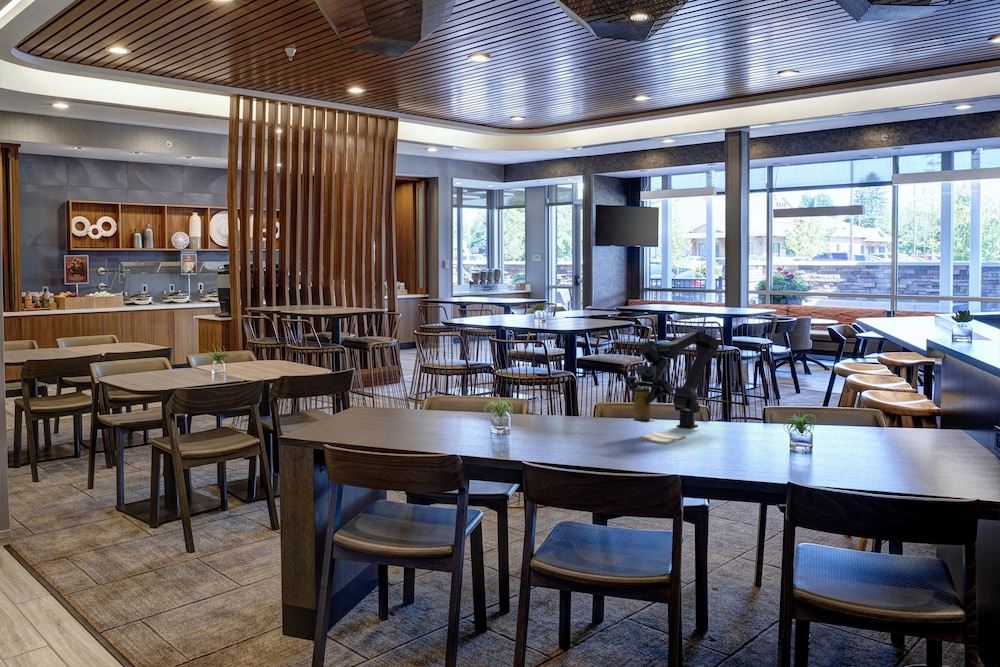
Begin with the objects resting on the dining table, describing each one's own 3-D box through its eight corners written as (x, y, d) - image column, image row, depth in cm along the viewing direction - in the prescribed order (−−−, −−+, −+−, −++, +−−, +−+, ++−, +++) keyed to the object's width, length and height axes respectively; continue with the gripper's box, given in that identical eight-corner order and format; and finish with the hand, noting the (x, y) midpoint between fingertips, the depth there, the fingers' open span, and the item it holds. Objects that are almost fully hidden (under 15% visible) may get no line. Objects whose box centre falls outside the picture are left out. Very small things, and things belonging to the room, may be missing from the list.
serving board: (657, 433, 306) (657, 431, 306) (685, 438, 298) (685, 435, 298) (637, 439, 296) (637, 437, 296) (665, 444, 288) (665, 442, 287)
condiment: (641, 417, 306) (641, 386, 305) (658, 420, 299) (658, 389, 298) (628, 419, 301) (628, 388, 300) (645, 423, 295) (645, 391, 294)
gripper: (626, 355, 308) (609, 387, 301) (668, 358, 295) (651, 392, 288) (639, 373, 314) (622, 405, 307) (679, 377, 301) (663, 410, 294)
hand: (639, 402), depth 299 cm, fingers closed on condiment, 6 cm apart
